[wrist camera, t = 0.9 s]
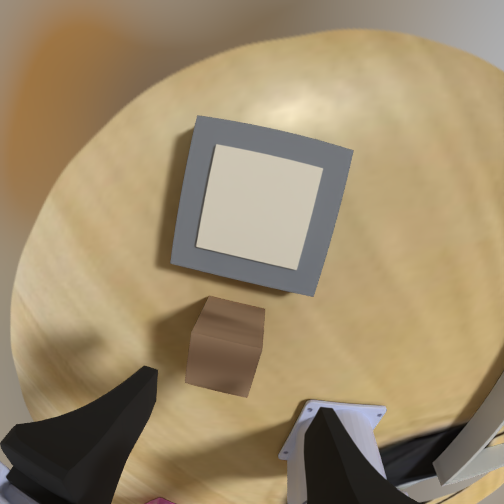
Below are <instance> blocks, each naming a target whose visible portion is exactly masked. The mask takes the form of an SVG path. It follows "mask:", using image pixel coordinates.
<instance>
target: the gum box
mask: <svg viewBox="0 0 504 504" xmlns="http://www.w3.org/2000/svg"><path fill="white" fill-rule="evenodd" d="M145 504H175V503H172V502H170V501H167V500H165V499H163V498H161V497H159V498H157V499H155V500H152V501H150V502H148V503H145Z"/></svg>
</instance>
